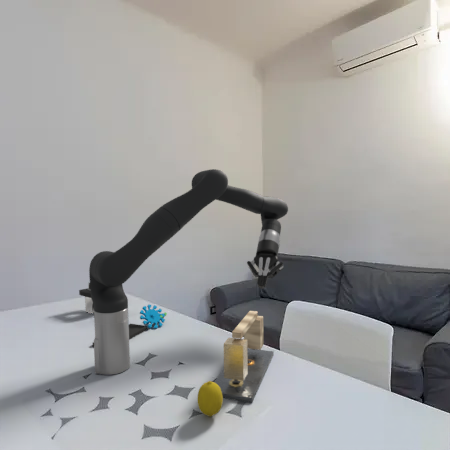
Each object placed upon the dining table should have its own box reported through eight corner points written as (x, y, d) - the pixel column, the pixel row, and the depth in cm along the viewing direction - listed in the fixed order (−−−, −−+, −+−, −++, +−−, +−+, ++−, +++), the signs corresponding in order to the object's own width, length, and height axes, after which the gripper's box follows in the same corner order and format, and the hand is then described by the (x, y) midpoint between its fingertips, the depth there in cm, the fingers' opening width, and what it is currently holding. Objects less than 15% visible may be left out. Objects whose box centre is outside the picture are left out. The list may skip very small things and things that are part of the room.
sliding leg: (247, 345, 113) (247, 308, 112) (263, 347, 112) (263, 309, 111) (227, 375, 94) (227, 331, 93) (246, 378, 93) (246, 333, 92)
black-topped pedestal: (54, 313, 157) (53, 282, 156) (112, 301, 174) (111, 273, 173) (80, 330, 136) (78, 295, 135) (142, 314, 154) (141, 283, 153)
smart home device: (91, 342, 120) (130, 323, 138) (91, 347, 120) (130, 327, 139) (111, 346, 117) (148, 325, 135) (111, 351, 117) (148, 330, 135)
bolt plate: (238, 351, 115) (238, 313, 114) (273, 355, 111) (273, 316, 110) (208, 395, 89) (207, 347, 88) (252, 402, 86) (251, 353, 85)
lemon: (197, 409, 83) (196, 375, 83) (222, 408, 84) (221, 374, 83) (198, 424, 78) (197, 388, 77) (224, 423, 78) (223, 387, 78)
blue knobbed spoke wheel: (144, 328, 132) (138, 304, 137) (138, 336, 135) (132, 312, 140) (171, 325, 138) (164, 302, 144) (165, 333, 142) (158, 310, 147)
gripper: (248, 238, 130) (239, 280, 119) (285, 238, 125) (280, 282, 115) (252, 250, 135) (244, 292, 124) (288, 251, 131) (283, 294, 120)
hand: (261, 287), depth 120 cm, fingers closed
